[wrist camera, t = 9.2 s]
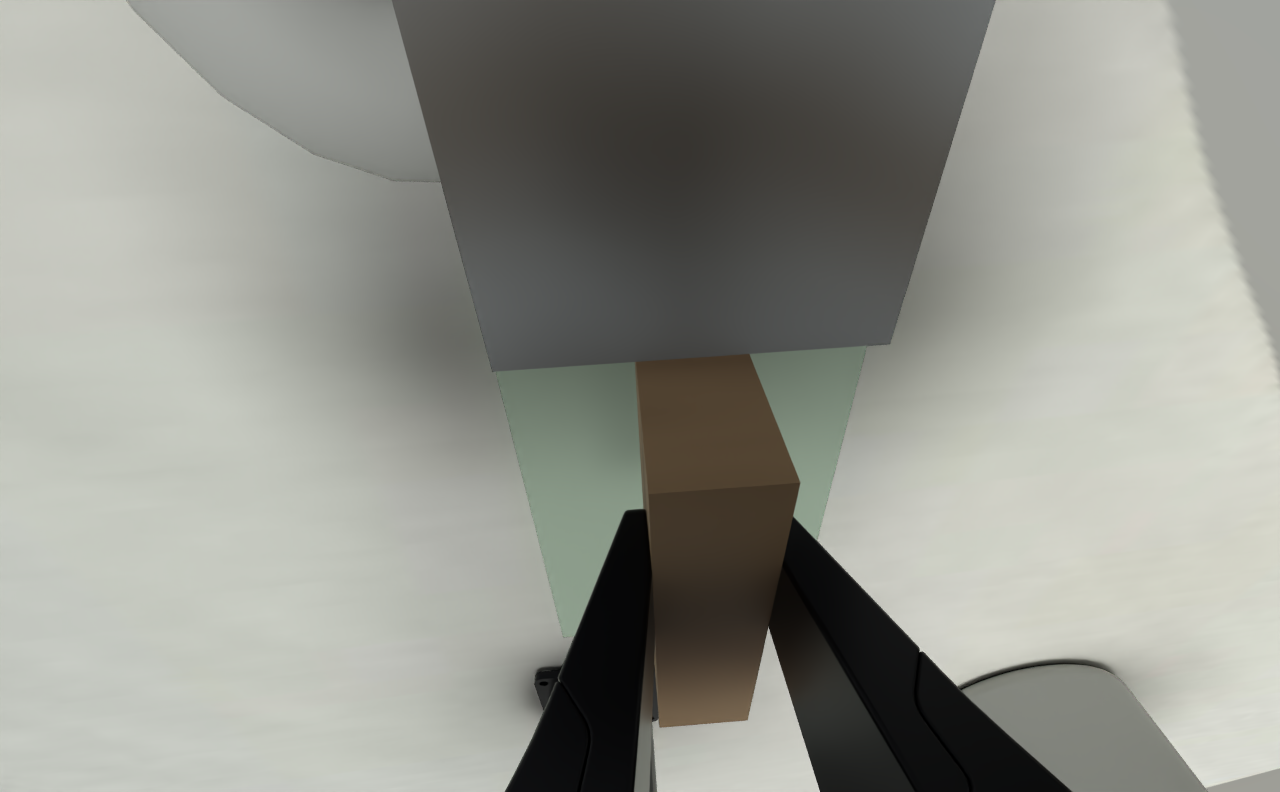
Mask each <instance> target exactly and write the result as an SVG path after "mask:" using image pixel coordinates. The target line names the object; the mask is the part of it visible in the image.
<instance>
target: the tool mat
mask: <svg viewBox="0 0 1280 792" xmlns="http://www.w3.org/2000/svg"><path fill="white" fill-rule="evenodd" d="M866 348H867V346H857V347H843V348H829V349H814V350H800V351H785V352H771V353H757V354H750V357H751V359H752V362H753V364H754V367H755V369H756V372H757V374H758V377H759V379H760V382H761V384H762V387H763V389H764V392H765V394H766V397H767V399H768V402H769V405H770V407H771V410H772V412H773V415H774V417H775V420H776V422H777V425H778V427H779V430H780V432H781V435H782V437H783V440H784V442H785V445H786V447H787V450H788V452H789V455H790V457H791V460H792V462H793V465H794V467H795V470H796V472H797V475H798V477H799V480H800V482H801V483H800V488H799V492H798V497H797V501H796V506H795V510H794V514H793V516H794V517H795V518H796V520H797V521H798V522H799V523H800V524H801V525H802V526H803V527H804V528H805V529H806V530H807V531H808V532H809V533H810V534H811V535H812V536H813V537H814V538H815V539H816V540H817V539H818V535H819V531H820V527H821V523H822V519H823V515H824V511H825V508H826V504H827V500H828V496H829V492H830V488H831V484H832V480H833V476H834V472H835V469H836V465H837V461H838V457H839V453H840V449H841V445H842V441H843V437H844V434H845V430H846V426H847V422H848V418H849V414H850V410H851V406H852V402H853V398H854V395H855V391H856V387H857V383H858V379H859V375H860V371H861V367H862V363H863V360H864V356H865V352H866ZM496 375H497V379H498V383H499V387H500V391H501V395H502V399H503V403H504V407H505V411H506V415H507V419H508V422H509V426H510V430H511V434H512V438H513V442H514V446H515V450H516V454H517V458H518V462H519V466H520V469H521V473H522V477H523V481H524V485H525V489H526V493H527V497H528V501H529V505H530V509H531V513H532V517H533V520H534V524H535V528H536V532H537V536H538V540H539V544H540V548H541V552H542V556H543V560H544V564H545V567H546V571H547V575H548V579H549V583H550V587H551V591H552V595H553V599H554V603H555V607H556V611H557V615H558V618H559V622H560V626H561V630H562V634H563V637H573V636H575V634H576V631H577V629H578V626H579V624H580V621H581V619H582V616H583V614H584V611H585V609H586V606H587V604H588V601H589V599H590V596H591V594H592V591H593V589H594V586H595V584H596V581H597V579H598V576H599V574H600V571H601V569H602V566H603V564H604V561H605V559H606V556H607V554H608V551H609V549H610V546H611V544H612V541H613V539H614V536H615V534H616V531H617V529H618V526H619V524H620V521H621V519H622V516H623V514H624V512H625V511H626V510H632V509H643V495H642V478H641V461H640V443H639V426H638V409H637V392H636V375H635V362H627V363H612V364H598V365H584V366H569V367H555V368H540V369H526V370H512V371H497V372H496Z"/></svg>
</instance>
